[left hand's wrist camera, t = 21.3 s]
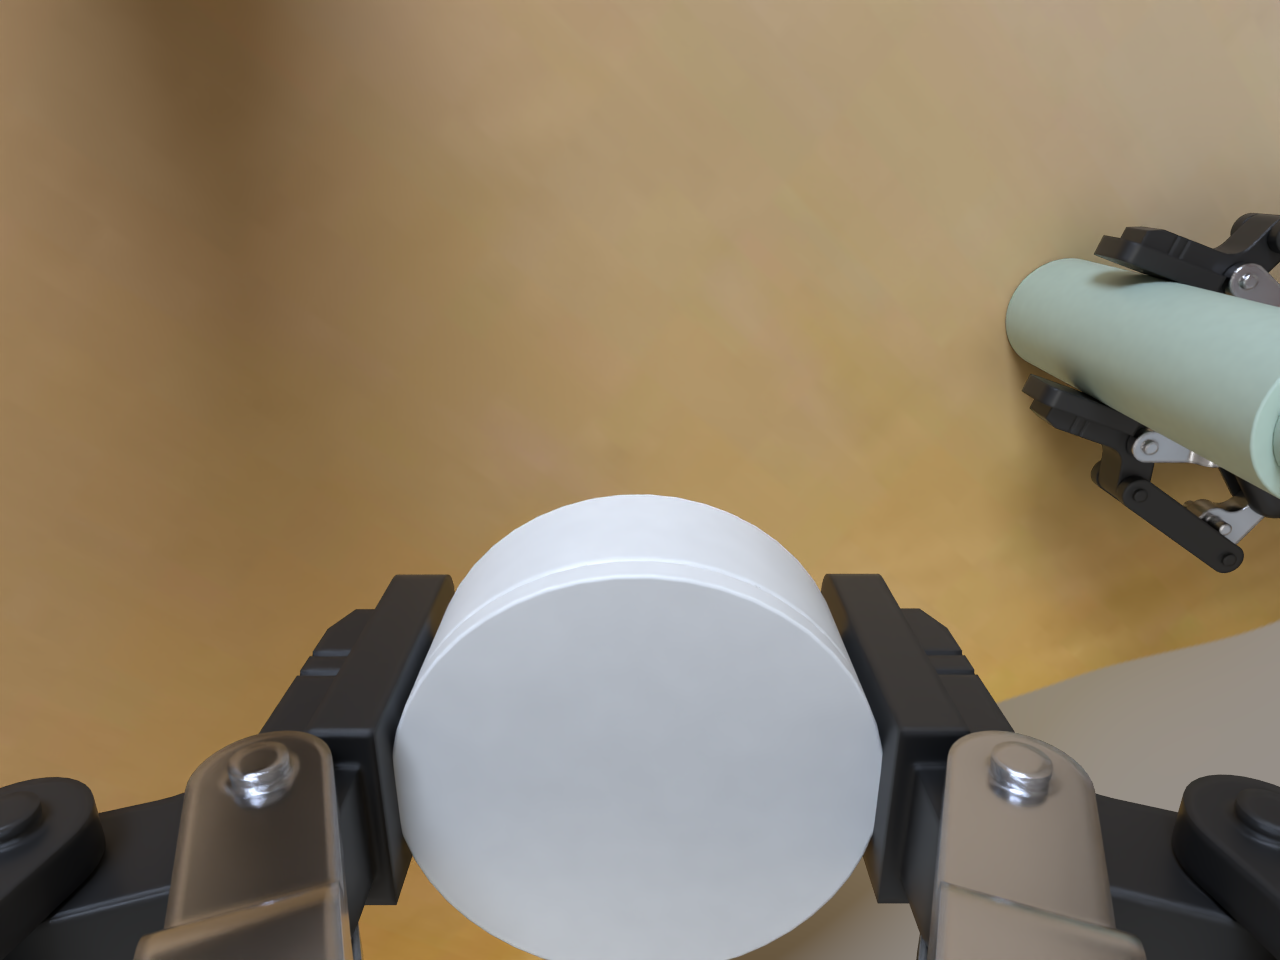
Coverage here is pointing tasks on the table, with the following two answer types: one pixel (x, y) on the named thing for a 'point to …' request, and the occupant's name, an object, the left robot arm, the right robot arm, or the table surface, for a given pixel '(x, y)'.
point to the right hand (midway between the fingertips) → (1072, 320)
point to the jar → (1161, 357)
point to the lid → (637, 738)
